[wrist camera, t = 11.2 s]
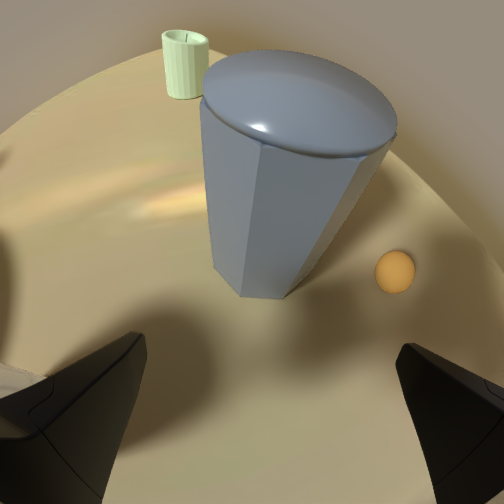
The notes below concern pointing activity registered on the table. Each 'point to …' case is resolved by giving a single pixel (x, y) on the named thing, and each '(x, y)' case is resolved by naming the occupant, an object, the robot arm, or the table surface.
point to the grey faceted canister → (285, 162)
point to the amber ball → (395, 272)
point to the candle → (185, 62)
